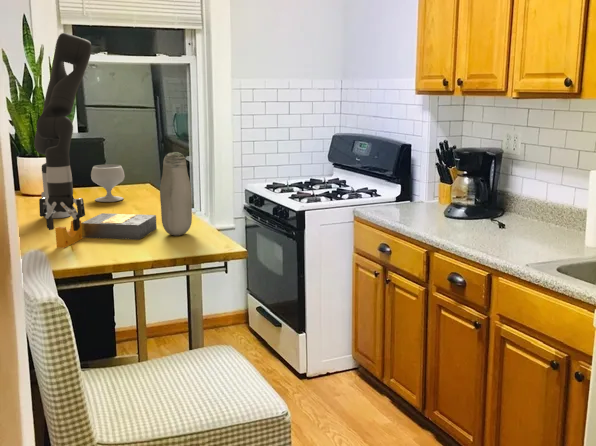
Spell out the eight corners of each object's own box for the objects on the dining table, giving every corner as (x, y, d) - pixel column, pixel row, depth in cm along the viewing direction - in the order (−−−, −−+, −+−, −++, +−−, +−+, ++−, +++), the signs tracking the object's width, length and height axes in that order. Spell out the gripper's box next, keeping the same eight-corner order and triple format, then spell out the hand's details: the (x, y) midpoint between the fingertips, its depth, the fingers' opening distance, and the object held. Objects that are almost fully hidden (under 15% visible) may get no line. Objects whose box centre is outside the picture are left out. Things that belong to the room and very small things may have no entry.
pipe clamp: (70, 238, 214) (68, 219, 213) (82, 239, 213) (81, 220, 212) (51, 247, 202) (50, 227, 201) (64, 248, 202) (63, 228, 200)
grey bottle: (189, 238, 214) (186, 154, 208) (159, 237, 214) (155, 154, 208) (195, 231, 224) (192, 150, 218) (165, 231, 224) (162, 150, 218)
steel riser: (82, 237, 214) (81, 222, 213) (103, 227, 230) (102, 212, 229) (139, 239, 212) (138, 224, 211) (156, 228, 227) (155, 214, 226)
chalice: (94, 204, 272) (92, 168, 269) (91, 198, 285) (88, 164, 281) (128, 201, 277) (126, 167, 274) (123, 196, 290) (121, 163, 287)
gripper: (32, 181, 201) (36, 232, 204) (75, 182, 199) (79, 233, 203) (44, 178, 208) (49, 227, 212) (86, 178, 206) (89, 228, 210)
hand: (63, 230), depth 207 cm, fingers open, 8 cm apart
